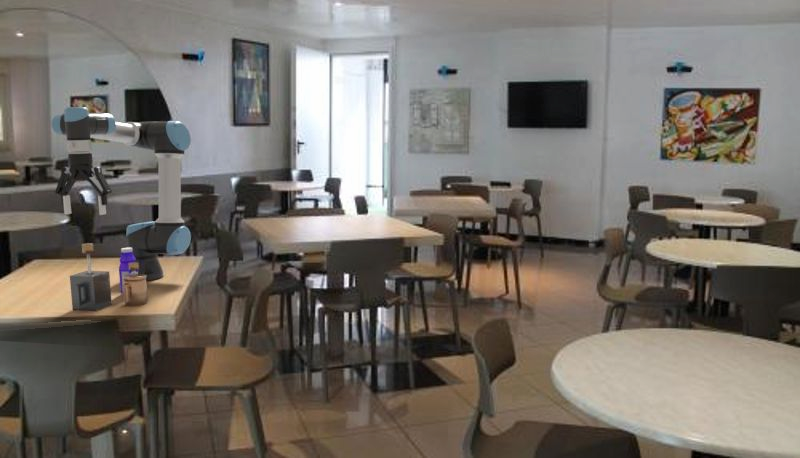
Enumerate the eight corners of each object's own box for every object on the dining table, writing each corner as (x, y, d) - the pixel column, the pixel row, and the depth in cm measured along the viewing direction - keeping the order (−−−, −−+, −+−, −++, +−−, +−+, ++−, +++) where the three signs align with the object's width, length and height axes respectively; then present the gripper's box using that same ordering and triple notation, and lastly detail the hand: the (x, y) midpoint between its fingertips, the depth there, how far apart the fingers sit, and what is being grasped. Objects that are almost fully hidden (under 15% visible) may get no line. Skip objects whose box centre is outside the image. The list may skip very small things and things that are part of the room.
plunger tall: (89, 295, 250) (85, 242, 248) (106, 295, 249) (102, 242, 246) (76, 299, 244) (72, 245, 241) (94, 300, 242) (89, 245, 240)
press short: (132, 299, 257) (130, 260, 255) (152, 300, 255) (149, 261, 253) (115, 307, 246) (112, 266, 244) (135, 308, 245) (132, 266, 243)
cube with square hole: (89, 303, 252) (86, 270, 250) (111, 304, 250) (109, 271, 248) (66, 312, 240) (63, 277, 239) (89, 313, 239) (87, 278, 237)
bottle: (131, 296, 263) (128, 250, 260) (117, 295, 264) (114, 249, 261) (142, 291, 270) (139, 246, 267) (128, 291, 271) (125, 246, 268)
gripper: (40, 153, 240) (46, 215, 244) (105, 153, 235) (111, 216, 238) (55, 152, 247) (60, 212, 251) (119, 151, 242) (124, 213, 246)
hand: (85, 214), depth 245 cm, fingers open, 13 cm apart
